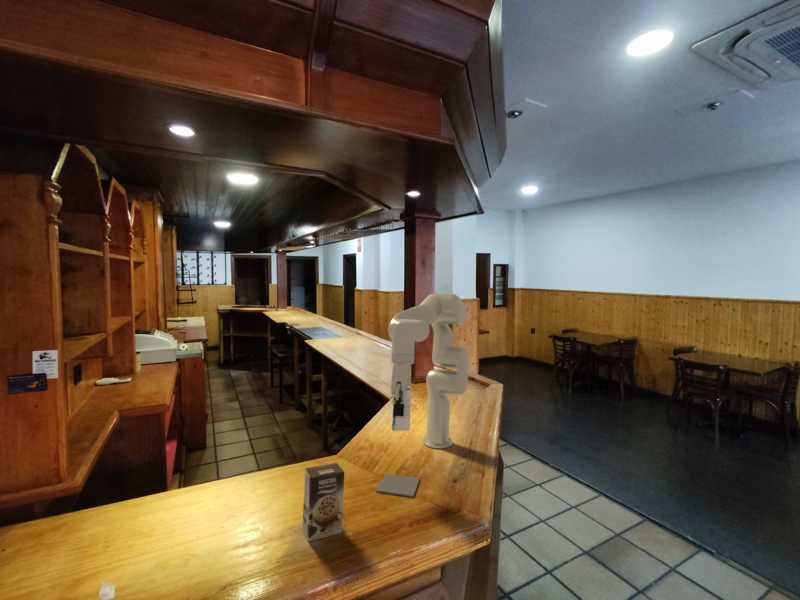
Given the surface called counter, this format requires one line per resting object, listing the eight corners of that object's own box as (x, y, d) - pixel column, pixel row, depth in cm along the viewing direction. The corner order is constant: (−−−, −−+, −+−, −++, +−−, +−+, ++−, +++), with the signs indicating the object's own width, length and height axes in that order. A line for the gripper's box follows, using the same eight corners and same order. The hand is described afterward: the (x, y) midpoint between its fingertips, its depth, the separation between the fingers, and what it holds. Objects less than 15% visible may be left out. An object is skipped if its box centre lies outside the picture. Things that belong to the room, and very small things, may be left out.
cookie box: (307, 542, 94) (310, 478, 94) (301, 528, 99) (304, 467, 99) (343, 533, 98) (345, 471, 98) (335, 520, 103) (337, 461, 103)
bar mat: (385, 475, 131) (385, 473, 131) (419, 479, 128) (419, 478, 128) (376, 492, 119) (376, 490, 119) (413, 497, 117) (413, 495, 117)
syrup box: (391, 425, 127) (392, 382, 126) (408, 425, 127) (409, 382, 127) (392, 431, 121) (393, 385, 121) (410, 431, 121) (411, 386, 121)
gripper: (397, 354, 133) (395, 404, 133) (385, 361, 116) (383, 419, 116) (418, 355, 132) (416, 406, 132) (409, 363, 115) (407, 421, 115)
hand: (401, 412), depth 124 cm, fingers closed on syrup box, 6 cm apart
